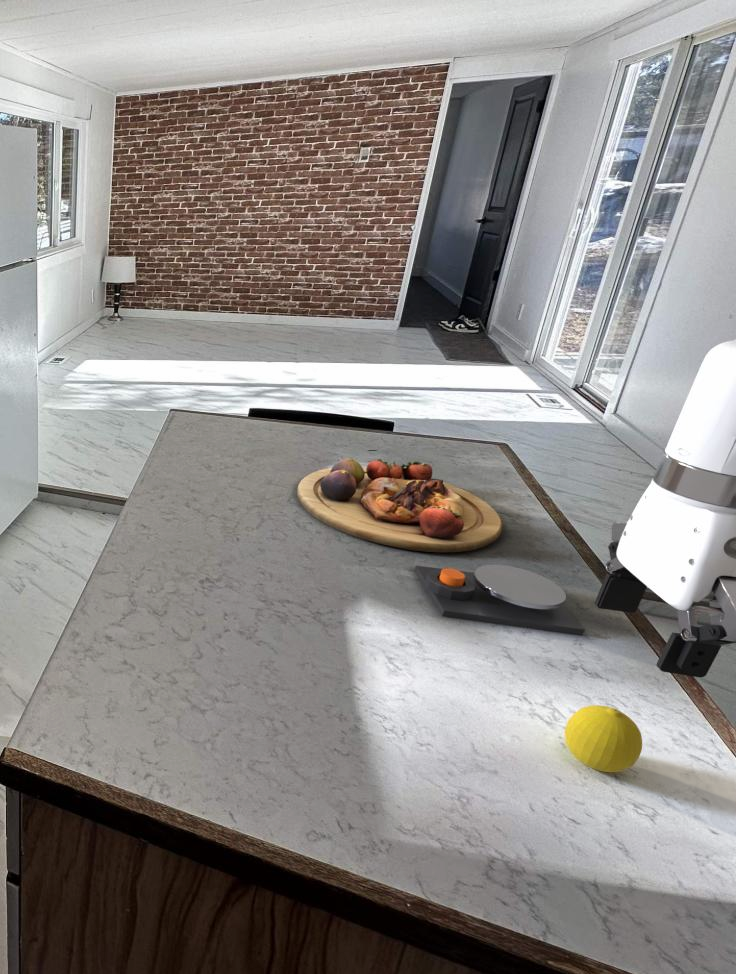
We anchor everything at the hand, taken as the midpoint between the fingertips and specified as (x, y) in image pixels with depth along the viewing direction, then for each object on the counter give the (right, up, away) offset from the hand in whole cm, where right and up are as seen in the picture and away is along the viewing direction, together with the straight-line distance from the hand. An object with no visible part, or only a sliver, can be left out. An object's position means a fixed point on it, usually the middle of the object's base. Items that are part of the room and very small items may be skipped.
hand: (644, 638), depth 63 cm
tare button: (+7, -2, +32) cm, 33 cm away
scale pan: (+15, -2, +30) cm, 33 cm away
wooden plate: (+17, +6, +59) cm, 62 cm away
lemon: (+1, -16, +6) cm, 17 cm away
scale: (+13, -5, +32) cm, 35 cm away
